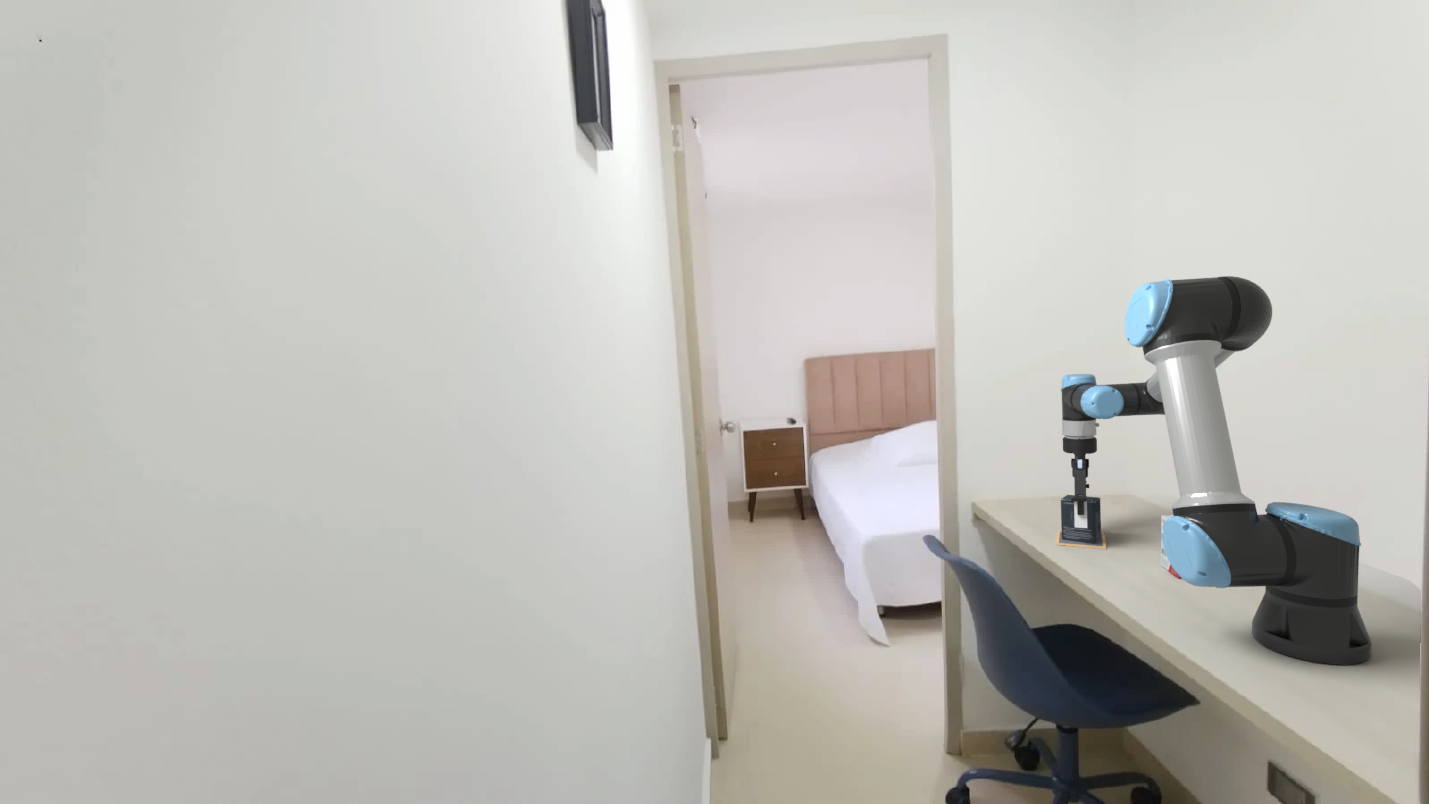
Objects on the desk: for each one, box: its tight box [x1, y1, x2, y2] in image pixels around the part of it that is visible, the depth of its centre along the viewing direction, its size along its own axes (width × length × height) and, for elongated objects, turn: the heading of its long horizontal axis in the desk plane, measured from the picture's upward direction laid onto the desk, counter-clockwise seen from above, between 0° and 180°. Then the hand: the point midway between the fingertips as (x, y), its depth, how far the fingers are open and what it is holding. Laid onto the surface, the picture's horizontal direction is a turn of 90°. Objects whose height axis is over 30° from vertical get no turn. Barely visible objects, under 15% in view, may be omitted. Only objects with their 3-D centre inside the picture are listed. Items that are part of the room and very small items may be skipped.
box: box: [1060, 494, 1102, 543], centre depth 175 cm, size 8×6×11 cm
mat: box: [1055, 530, 1107, 550], centre depth 175 cm, size 11×11×1 cm
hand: (1081, 520), depth 174 cm, fingers open, 13 cm apart
